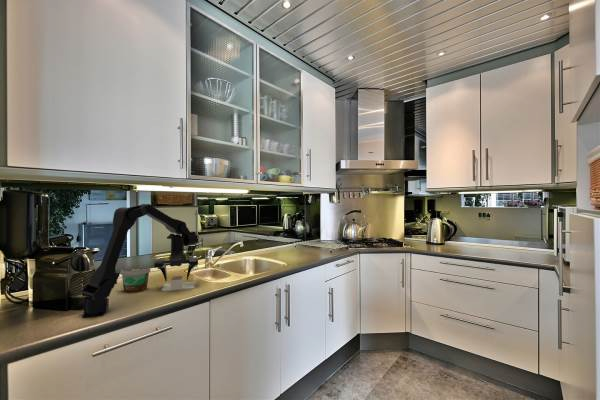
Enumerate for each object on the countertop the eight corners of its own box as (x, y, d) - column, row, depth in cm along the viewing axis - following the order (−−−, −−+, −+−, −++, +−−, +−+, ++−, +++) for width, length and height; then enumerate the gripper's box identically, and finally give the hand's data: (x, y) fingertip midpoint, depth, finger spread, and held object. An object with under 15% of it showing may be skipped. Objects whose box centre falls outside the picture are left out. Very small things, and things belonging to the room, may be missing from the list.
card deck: (170, 289, 126) (170, 280, 126) (171, 284, 133) (171, 276, 133) (182, 288, 128) (182, 279, 128) (182, 283, 135) (182, 275, 135)
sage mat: (161, 291, 125) (161, 290, 125) (164, 285, 134) (164, 283, 134) (194, 288, 129) (194, 287, 129) (195, 282, 139) (195, 281, 139)
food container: (115, 294, 120) (115, 271, 120) (120, 290, 126) (120, 268, 126) (146, 292, 123) (147, 270, 123) (150, 288, 129) (150, 267, 129)
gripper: (152, 251, 120) (151, 287, 120) (197, 249, 126) (197, 283, 126) (156, 247, 131) (156, 280, 130) (198, 245, 137) (197, 277, 137)
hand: (176, 280), depth 131 cm, fingers open, 9 cm apart
